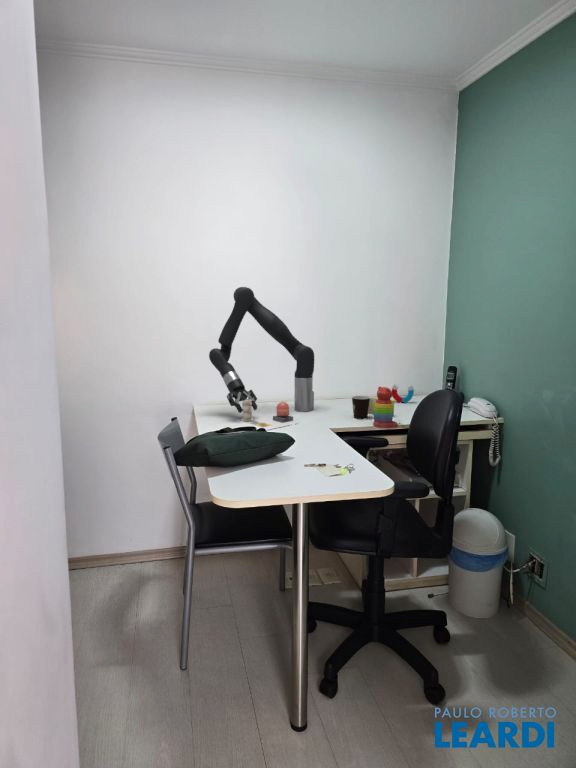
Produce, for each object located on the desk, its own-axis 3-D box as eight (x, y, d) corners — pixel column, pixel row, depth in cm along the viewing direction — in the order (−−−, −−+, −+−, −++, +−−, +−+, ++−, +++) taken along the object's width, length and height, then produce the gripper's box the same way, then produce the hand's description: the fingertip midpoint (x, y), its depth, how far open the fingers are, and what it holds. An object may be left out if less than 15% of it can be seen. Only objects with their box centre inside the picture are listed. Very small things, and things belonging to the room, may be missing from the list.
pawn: (248, 418, 264) (248, 397, 263) (255, 420, 260) (255, 399, 259) (238, 420, 261) (238, 399, 259) (246, 422, 257) (245, 400, 255)
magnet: (413, 402, 306) (414, 384, 305) (413, 403, 304) (413, 385, 302) (391, 401, 309) (392, 383, 308) (391, 402, 307) (391, 384, 305)
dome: (283, 412, 264) (283, 400, 263) (292, 414, 260) (292, 402, 259) (273, 414, 260) (273, 401, 259) (282, 416, 256) (282, 403, 255)
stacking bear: (400, 426, 254) (401, 387, 251) (383, 429, 248) (384, 389, 245) (383, 421, 262) (384, 384, 259) (367, 424, 257) (368, 386, 254)
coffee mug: (368, 420, 265) (369, 399, 264) (350, 419, 267) (351, 398, 265) (370, 414, 276) (370, 395, 275) (352, 414, 278) (353, 394, 277)
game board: (269, 415, 275) (269, 410, 274) (300, 423, 259) (300, 417, 258) (226, 423, 258) (226, 418, 257) (256, 432, 241) (256, 426, 241)
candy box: (394, 416, 274) (394, 399, 272) (392, 417, 272) (392, 400, 271) (364, 412, 283) (365, 396, 282) (362, 413, 281) (363, 396, 280)
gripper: (224, 379, 258) (239, 407, 252) (248, 376, 267) (264, 403, 261) (218, 389, 263) (233, 417, 256) (242, 386, 272) (257, 412, 266)
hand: (248, 410), depth 259 cm, fingers open, 8 cm apart
